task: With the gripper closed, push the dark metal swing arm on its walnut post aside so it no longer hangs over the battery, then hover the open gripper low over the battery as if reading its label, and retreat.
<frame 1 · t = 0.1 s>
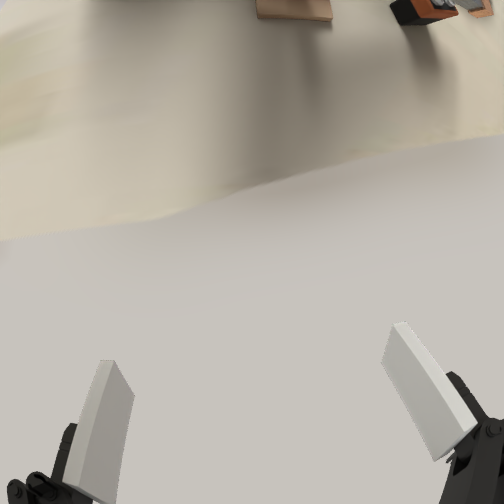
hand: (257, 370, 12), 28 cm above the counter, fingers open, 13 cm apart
battery: (407, 15, 26), on the counter
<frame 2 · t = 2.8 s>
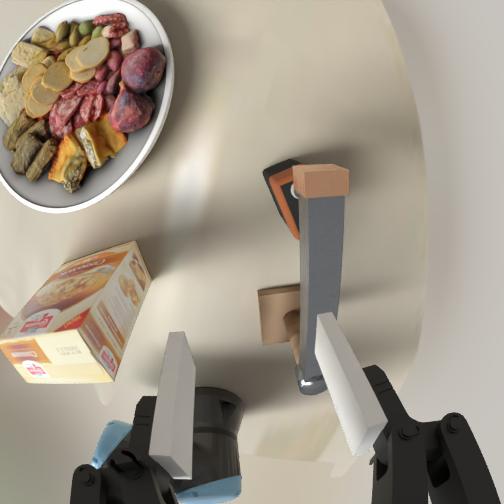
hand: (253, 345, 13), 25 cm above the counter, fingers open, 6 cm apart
battery: (285, 187, 36), on the counter
coffeecake box: (103, 271, 38), on the counter
arm post: (290, 312, 44), on the counter
bowl: (75, 99, 27), on the counter
swing arm: (318, 305, 27), point 14 cm above the counter, hinge at 0.0°
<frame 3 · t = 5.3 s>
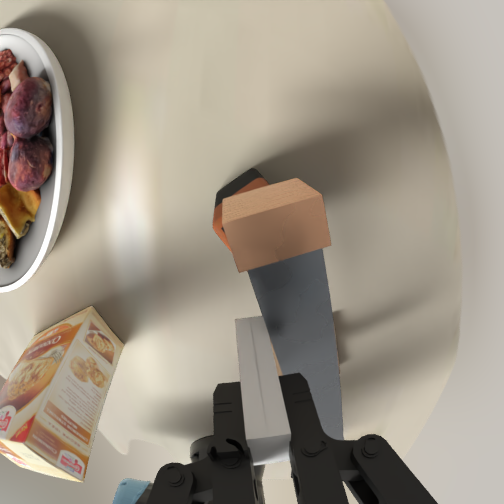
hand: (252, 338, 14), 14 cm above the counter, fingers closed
battery: (255, 208, 26), on the counter
coffeecake box: (74, 339, 30), on the counter
swing arm: (313, 390, 17), point 14 cm above the counter, hinge at 0.5°, touching gripper
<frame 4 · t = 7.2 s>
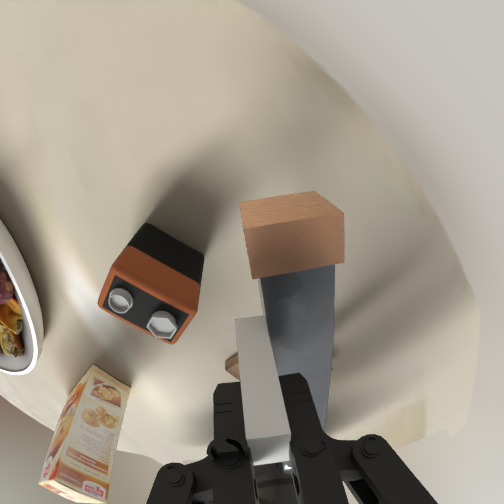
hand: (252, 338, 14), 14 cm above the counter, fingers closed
battery: (166, 254, 27), on the counter
coffeecake box: (95, 392, 35), on the counter
swing arm: (299, 399, 17), point 14 cm above the counter, hinge at 28.8°, touching gripper
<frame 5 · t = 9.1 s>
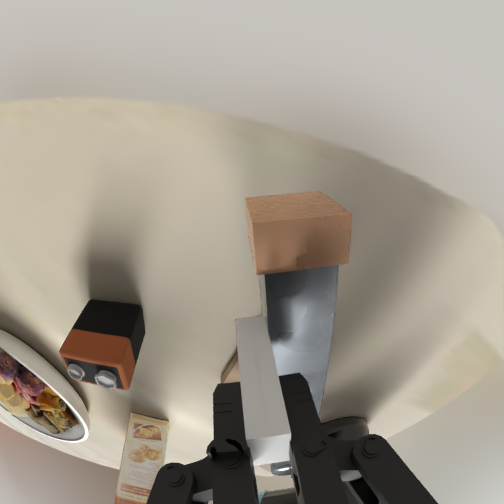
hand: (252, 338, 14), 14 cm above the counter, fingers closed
battery: (117, 314, 29), on the counter
coffeecake box: (149, 432, 41), on the counter
arm post: (270, 363, 34), on the counter
bowl: (27, 378, 34), on the counter
swing arm: (292, 400, 17), point 14 cm above the counter, hinge at 60.1°, touching gripper
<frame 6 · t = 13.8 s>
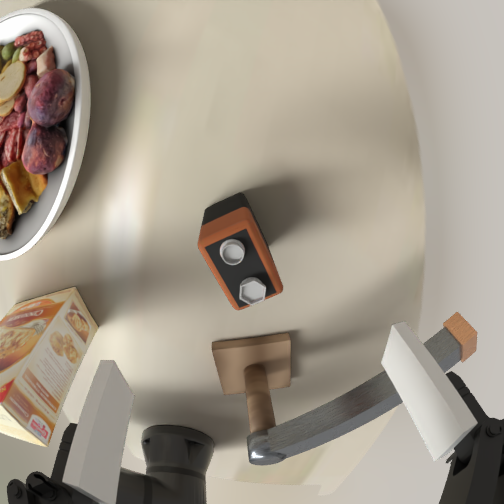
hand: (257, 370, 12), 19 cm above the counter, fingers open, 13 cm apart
battery: (236, 227, 29), on the counter
coffeecake box: (52, 314, 31), on the counter
arm post: (253, 363, 37), on the counter
bowl: (7, 131, 21), on the counter
swing arm: (361, 406, 23), point 14 cm above the counter, hinge at 60.9°
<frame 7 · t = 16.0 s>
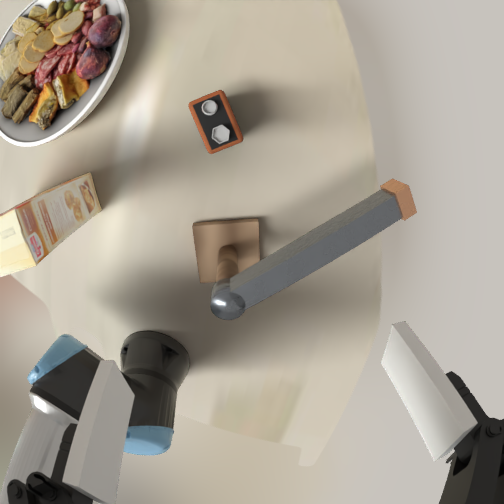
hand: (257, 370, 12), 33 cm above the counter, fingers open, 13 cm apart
battery: (218, 123, 37), on the counter
coffeecake box: (64, 203, 39), on the counter
arm post: (227, 249, 45), on the counter
bowl: (58, 60, 28), on the counter
swing arm: (312, 251, 31), point 14 cm above the counter, hinge at 60.9°
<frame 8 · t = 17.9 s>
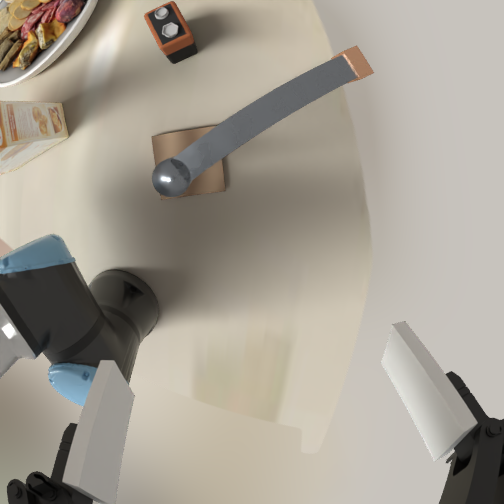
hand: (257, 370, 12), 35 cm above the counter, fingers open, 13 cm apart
battery: (177, 43, 32), on the counter
coffeecake box: (36, 137, 34), on the counter
arm post: (189, 162, 40), on the counter
bowl: (42, 18, 24), on the counter
swing arm: (262, 113, 26), point 14 cm above the counter, hinge at 60.9°
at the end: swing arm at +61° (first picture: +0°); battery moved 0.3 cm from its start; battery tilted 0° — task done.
